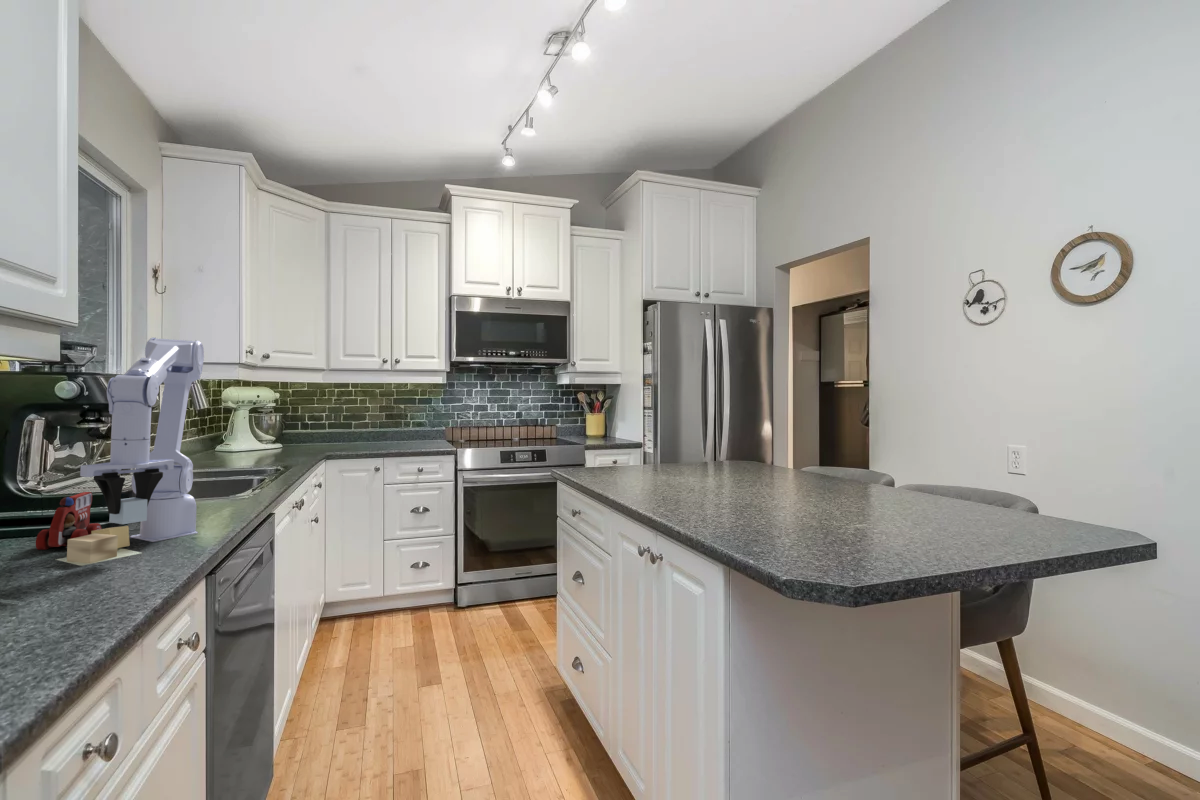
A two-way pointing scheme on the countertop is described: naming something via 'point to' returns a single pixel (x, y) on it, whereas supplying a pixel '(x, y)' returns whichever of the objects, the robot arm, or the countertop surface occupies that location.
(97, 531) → the ochre block
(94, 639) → the countertop surface
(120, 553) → the plate
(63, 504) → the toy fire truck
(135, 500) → the blue block
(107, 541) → the maple block
